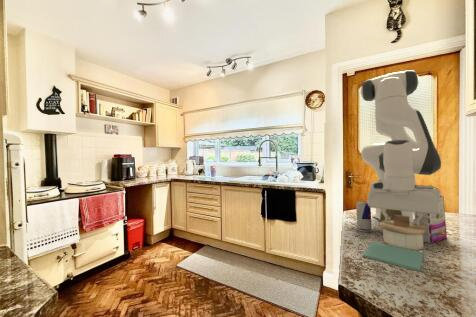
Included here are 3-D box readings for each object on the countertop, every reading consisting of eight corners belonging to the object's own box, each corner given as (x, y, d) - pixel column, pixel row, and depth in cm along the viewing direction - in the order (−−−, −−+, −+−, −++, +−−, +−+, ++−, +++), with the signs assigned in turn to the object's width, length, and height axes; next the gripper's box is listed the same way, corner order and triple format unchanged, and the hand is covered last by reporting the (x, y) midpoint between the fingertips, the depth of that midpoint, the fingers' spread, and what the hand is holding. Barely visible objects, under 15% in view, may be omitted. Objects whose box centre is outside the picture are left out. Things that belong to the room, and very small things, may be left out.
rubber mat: (373, 243, 74) (373, 241, 74) (423, 254, 65) (423, 252, 65) (363, 256, 65) (362, 254, 65) (420, 271, 55) (420, 269, 55)
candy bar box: (430, 234, 81) (428, 193, 82) (447, 238, 77) (444, 194, 77) (414, 239, 77) (412, 195, 77) (431, 244, 72) (428, 197, 73)
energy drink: (374, 232, 86) (372, 203, 86) (360, 232, 87) (358, 203, 87) (368, 228, 91) (367, 201, 91) (355, 228, 92) (354, 201, 92)
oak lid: (383, 221, 83) (383, 210, 83) (427, 227, 73) (426, 215, 74) (376, 229, 73) (375, 217, 74) (425, 237, 64) (424, 224, 64)
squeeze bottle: (402, 236, 80) (399, 190, 81) (377, 231, 86) (375, 189, 87) (406, 231, 86) (403, 188, 86) (383, 227, 92) (381, 187, 92)
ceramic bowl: (387, 236, 81) (386, 222, 81) (424, 243, 73) (423, 227, 73) (381, 244, 73) (380, 229, 73) (422, 253, 66) (421, 236, 66)
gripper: (439, 184, 69) (442, 226, 68) (369, 182, 83) (371, 216, 83) (439, 186, 64) (442, 231, 64) (365, 184, 79) (367, 220, 78)
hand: (401, 222), depth 74 cm, fingers open, 7 cm apart
